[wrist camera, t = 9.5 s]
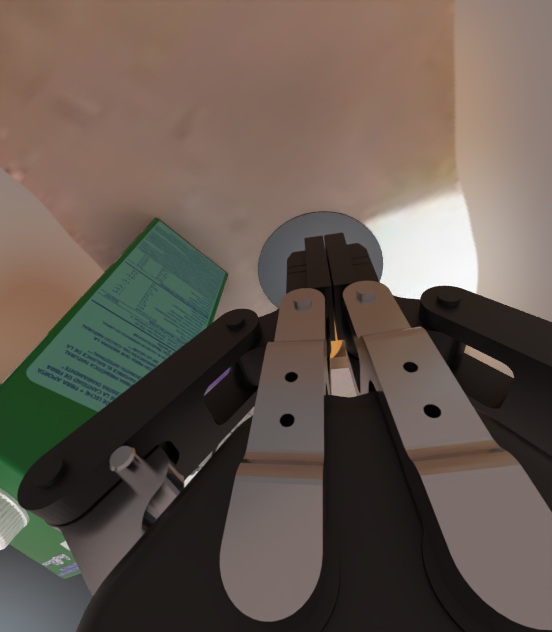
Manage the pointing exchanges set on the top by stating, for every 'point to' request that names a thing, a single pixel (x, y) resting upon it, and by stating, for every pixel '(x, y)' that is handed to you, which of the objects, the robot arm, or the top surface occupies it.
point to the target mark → (292, 240)
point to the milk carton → (98, 366)
